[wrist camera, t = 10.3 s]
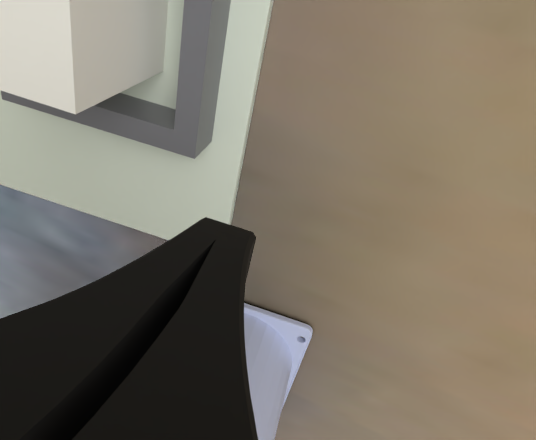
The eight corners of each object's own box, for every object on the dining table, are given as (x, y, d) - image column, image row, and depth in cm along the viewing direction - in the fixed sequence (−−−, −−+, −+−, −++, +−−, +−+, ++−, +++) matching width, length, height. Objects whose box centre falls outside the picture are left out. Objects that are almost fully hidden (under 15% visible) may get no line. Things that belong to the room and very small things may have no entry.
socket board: (225, 252, 23) (209, 281, 21) (0, 178, 24) (-37, 198, 22) (294, -111, 14) (277, -123, 12) (-74, -200, 15) (-148, -225, 13)
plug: (163, 70, 18) (75, 114, 13) (78, 45, 18) (-39, 77, 13) (172, -56, 15) (65, -63, 10) (72, -84, 15) (-78, -103, 10)
